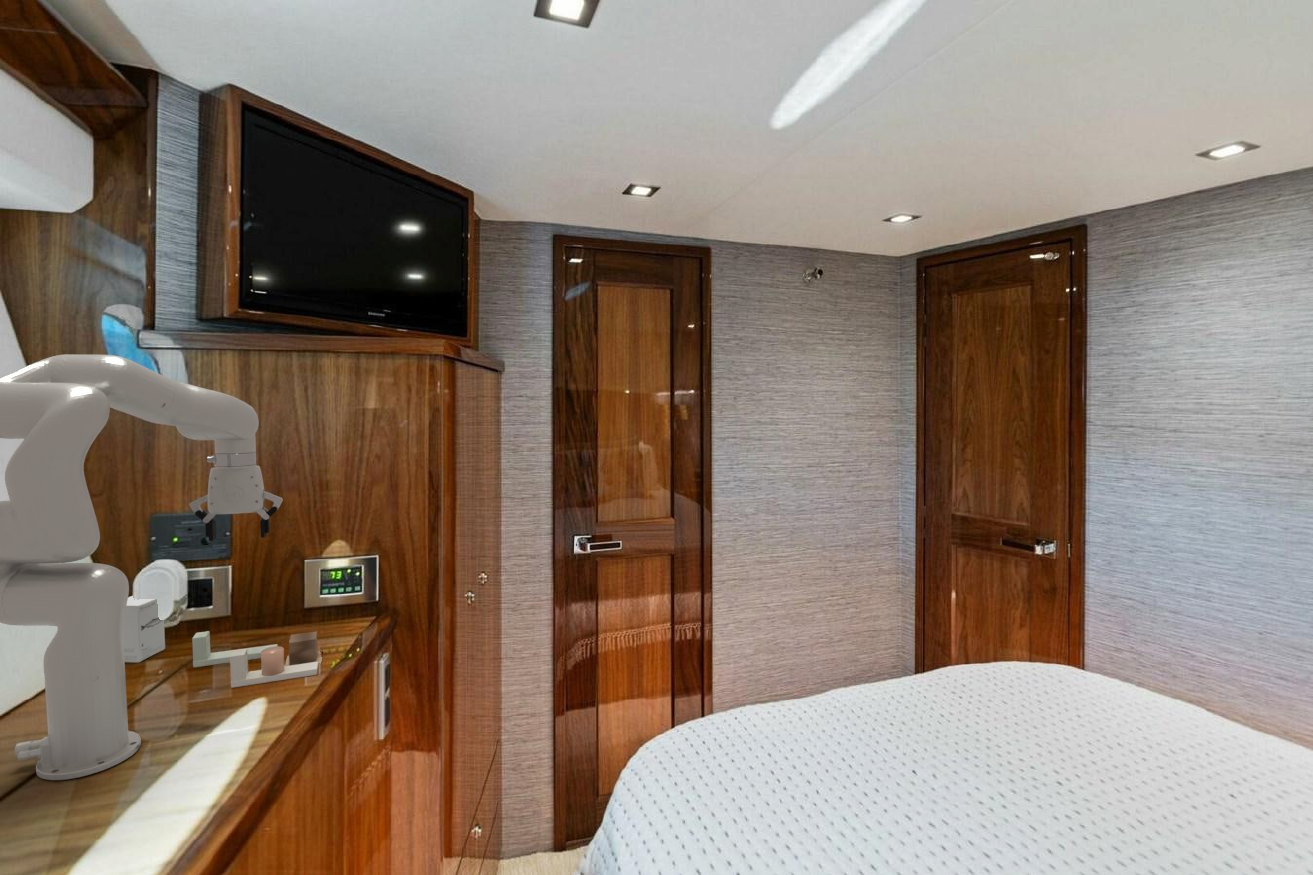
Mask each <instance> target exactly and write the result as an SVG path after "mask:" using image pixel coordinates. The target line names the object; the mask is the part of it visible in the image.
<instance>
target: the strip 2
mask: <svg viewBox="0 0 1313 875" xmlns="http://www.w3.org/2000/svg"><path fill="white" fill-rule="evenodd" d="M247 648H248V647H247ZM247 648H246V649H245V648H237V649H238V650H237V649H232V650H233V652H232V654H231V656H230V662H229V665H230V666H229V667H230V670H229V671H230V688H231V689H232V688H239V687H240V688H241V687H246V686H253V685H257V684H264V683H272V682H279V681H283V680H285V681H286V680H290V679H291V680H292V679H298V678H304V677H310V676H316V675H318V671H319V664H318V662H311V663H304V664H297V665H291V666H285V665H284V671H283V672H282V673H280V674H277V675H273V676H263V675H262V669H257V670H250V671H249V660H248V654H247Z"/></svg>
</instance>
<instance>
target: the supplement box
mask: <svg viewBox="0 0 1313 875" xmlns="http://www.w3.org/2000/svg"><path fill="white" fill-rule="evenodd" d="M133 596H134V595H131V596H128V600H127V605H126V610H125V616H124V628H123V643H124V661H125V663H141V662H142V661H145V660H146V659H147V658H151V657H152V656H153V655H154V656H155V655H156V654H158V653H160V652H162V651H164V650H166V638H165V637H166V635H165V634H166V633H165V632H166V631H165V619H164V620H160V619H159V617H158V604H157V599H139V600H137V599H135V600H134V598H133Z"/></svg>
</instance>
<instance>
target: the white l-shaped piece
mask: <svg viewBox="0 0 1313 875" xmlns="http://www.w3.org/2000/svg"><path fill="white" fill-rule="evenodd" d="M210 636H211V634H210V630H207V631H201V632H200V631H199V632H198V631H197V632H195V634H194V635H193V637H192V639H191V640H192V641H191V642H192V667H193V668H201V667H205V666H207V667H208V666H213V665H221V664H230V656H231V654H232V652H233V650H234V649H231V650H225V651H217V652H216V651H215V652H211V641H210V640H211V637H210ZM276 646H278V643H277V644H268V645H261V646H254V647H253V646H252V647H247V654H248V661H250V660H256V659H261V651H262V650H264V649H266V648H270V647H276ZM238 649H239V648H237V649H236V650H238ZM244 649H246V648H244Z"/></svg>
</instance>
